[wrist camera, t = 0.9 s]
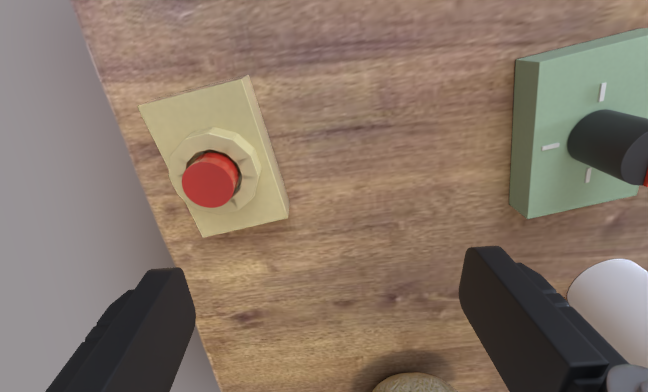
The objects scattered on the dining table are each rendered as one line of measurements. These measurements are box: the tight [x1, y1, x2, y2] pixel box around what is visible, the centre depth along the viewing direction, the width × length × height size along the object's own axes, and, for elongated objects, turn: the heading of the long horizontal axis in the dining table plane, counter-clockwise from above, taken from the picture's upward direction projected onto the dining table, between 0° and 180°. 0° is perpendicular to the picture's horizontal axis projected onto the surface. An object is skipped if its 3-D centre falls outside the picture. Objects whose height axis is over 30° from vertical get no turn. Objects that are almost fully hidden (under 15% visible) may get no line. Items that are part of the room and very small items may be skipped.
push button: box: [182, 153, 239, 208], centre depth 23 cm, size 4×4×2 cm
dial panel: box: [509, 28, 648, 219], centre depth 27 cm, size 14×10×3 cm
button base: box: [137, 75, 290, 238], centre depth 26 cm, size 12×8×5 cm, turn 13°
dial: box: [567, 109, 648, 187], centre depth 23 cm, size 4×4×5 cm
